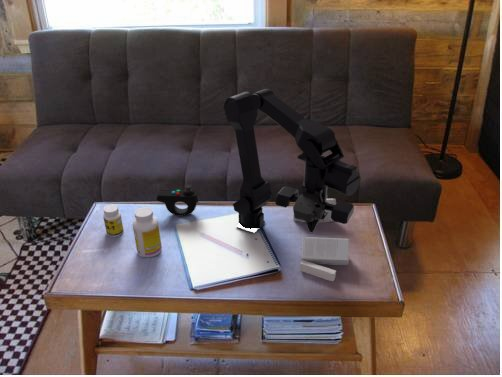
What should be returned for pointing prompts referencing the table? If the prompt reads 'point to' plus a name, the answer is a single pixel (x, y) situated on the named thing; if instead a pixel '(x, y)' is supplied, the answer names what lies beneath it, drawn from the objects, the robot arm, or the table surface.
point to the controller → (179, 200)
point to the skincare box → (325, 250)
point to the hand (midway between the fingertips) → (311, 231)
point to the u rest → (317, 270)
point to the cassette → (327, 218)
